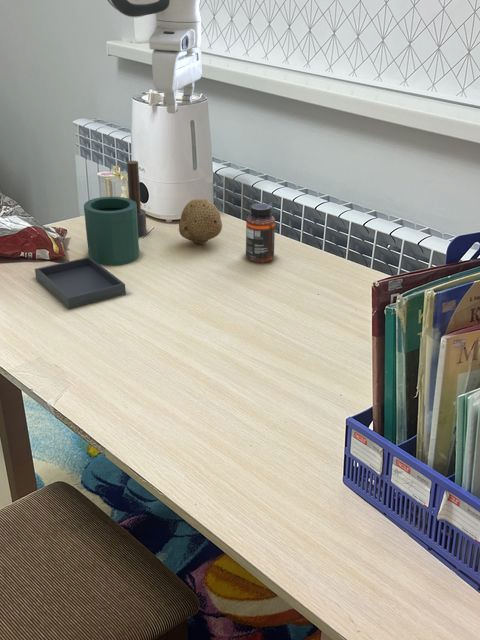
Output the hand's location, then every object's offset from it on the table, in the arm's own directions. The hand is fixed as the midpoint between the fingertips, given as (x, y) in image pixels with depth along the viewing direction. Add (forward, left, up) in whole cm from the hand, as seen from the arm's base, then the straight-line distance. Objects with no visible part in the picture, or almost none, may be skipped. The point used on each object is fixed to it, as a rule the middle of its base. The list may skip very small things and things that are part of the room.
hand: (180, 108), depth 145 cm
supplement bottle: (+23, +5, -27) cm, 36 cm away
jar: (+6, -20, -27) cm, 34 cm away
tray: (+16, -32, -27) cm, 45 cm away
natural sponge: (+10, -1, -27) cm, 29 cm away
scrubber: (-3, -10, -27) cm, 29 cm away
